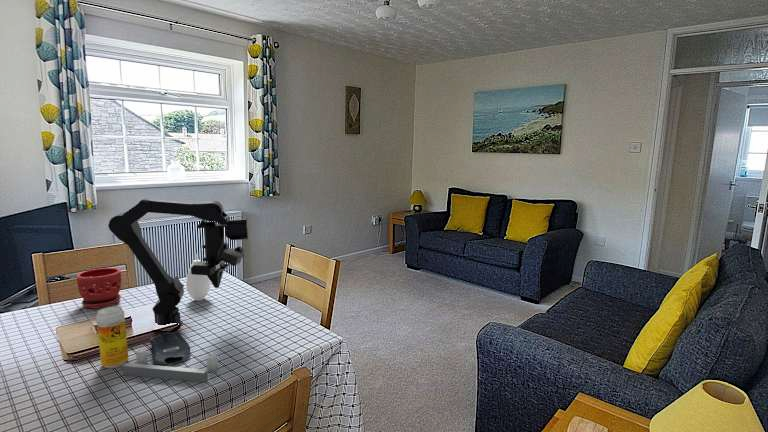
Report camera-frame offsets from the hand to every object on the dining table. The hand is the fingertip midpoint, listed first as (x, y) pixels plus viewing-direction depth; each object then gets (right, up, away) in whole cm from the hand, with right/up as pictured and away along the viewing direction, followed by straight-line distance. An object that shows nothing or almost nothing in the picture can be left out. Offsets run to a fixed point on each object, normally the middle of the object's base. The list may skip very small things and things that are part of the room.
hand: (216, 287), depth 133 cm
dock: (-1, -17, -27) cm, 32 cm away
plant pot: (-48, -9, +16) cm, 51 cm away
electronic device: (-6, -16, -18) cm, 24 cm away
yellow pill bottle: (-17, -16, -24) cm, 34 cm away
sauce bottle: (-15, -8, +21) cm, 27 cm away
